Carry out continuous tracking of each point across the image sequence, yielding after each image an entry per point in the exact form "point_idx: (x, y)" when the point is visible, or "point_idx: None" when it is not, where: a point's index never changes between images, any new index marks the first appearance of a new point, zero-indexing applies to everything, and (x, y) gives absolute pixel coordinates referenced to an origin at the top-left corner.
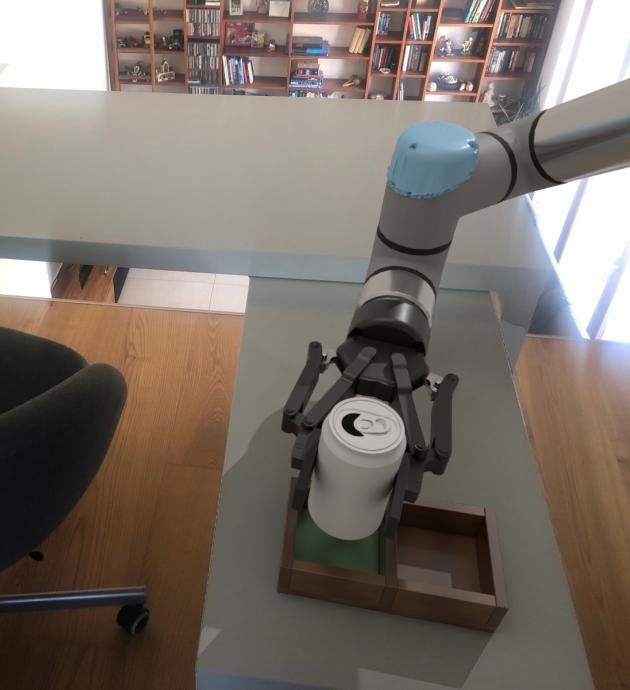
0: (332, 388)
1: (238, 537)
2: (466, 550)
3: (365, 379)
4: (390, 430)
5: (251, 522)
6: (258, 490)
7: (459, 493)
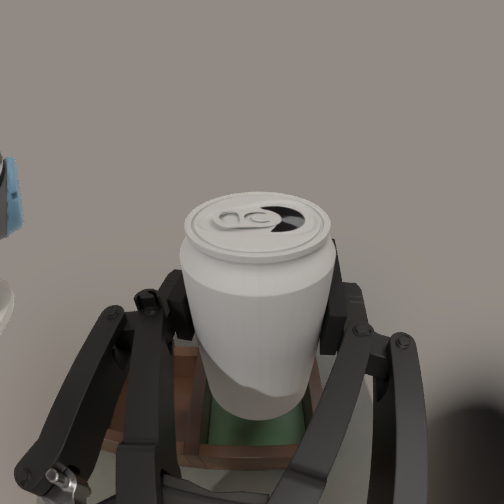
0: (341, 429)
1: (358, 409)
2: (119, 426)
3: (249, 494)
4: (211, 219)
5: (351, 429)
6: (356, 468)
7: (107, 497)
